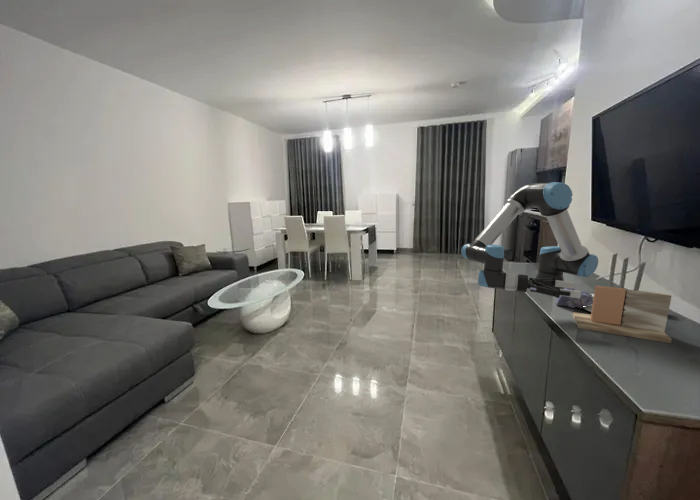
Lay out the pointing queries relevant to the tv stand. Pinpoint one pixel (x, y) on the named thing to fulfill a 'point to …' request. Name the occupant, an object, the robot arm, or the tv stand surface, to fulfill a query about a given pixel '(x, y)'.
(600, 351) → the tv stand surface
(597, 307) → the orange rectangular panel
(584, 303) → the mineral
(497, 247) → the robot arm
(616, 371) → the tv stand surface
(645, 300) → the stand
